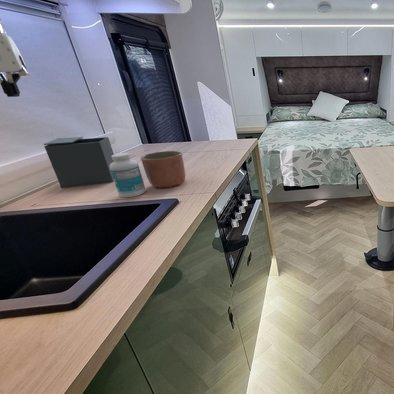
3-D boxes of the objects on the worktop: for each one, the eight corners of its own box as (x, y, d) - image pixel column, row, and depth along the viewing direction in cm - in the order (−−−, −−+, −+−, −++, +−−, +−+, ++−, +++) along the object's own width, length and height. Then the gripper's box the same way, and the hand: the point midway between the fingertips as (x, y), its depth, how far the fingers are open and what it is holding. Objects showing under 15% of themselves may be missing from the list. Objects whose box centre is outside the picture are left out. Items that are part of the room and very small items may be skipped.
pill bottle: (123, 191, 99) (110, 152, 94) (148, 188, 101) (137, 150, 96) (115, 199, 92) (101, 158, 87) (142, 196, 95) (130, 156, 90)
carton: (61, 188, 103) (44, 146, 97) (73, 179, 112) (58, 140, 106) (112, 181, 109) (99, 142, 103) (120, 174, 118) (108, 137, 112)
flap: (44, 145, 97) (43, 143, 97) (57, 139, 106) (57, 138, 106) (72, 143, 100) (71, 141, 100) (83, 137, 109) (82, 136, 109)
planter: (175, 177, 114) (168, 149, 109) (195, 181, 108) (189, 152, 104) (141, 186, 103) (132, 156, 99) (162, 192, 98) (153, 161, 94)
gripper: (-62, 25, 78) (-28, 97, 85) (14, 29, 84) (39, 96, 90) (-42, 30, 84) (-12, 96, 91) (27, 33, 90) (50, 95, 97)
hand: (13, 96), depth 91 cm, fingers closed
